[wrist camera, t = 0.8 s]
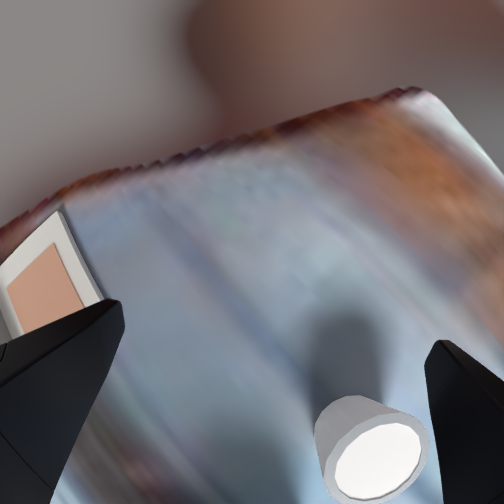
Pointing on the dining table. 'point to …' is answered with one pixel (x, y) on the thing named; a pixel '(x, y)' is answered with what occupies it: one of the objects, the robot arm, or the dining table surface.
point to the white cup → (368, 450)
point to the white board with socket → (44, 280)
